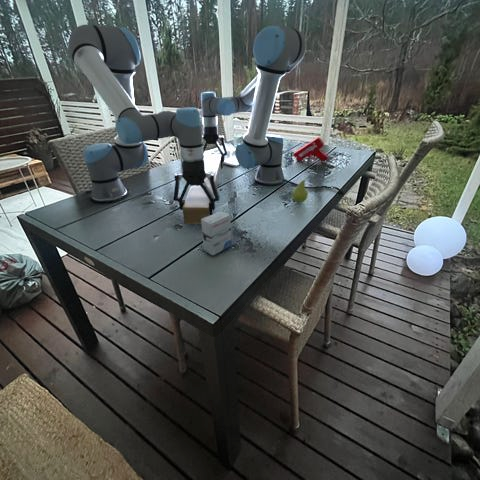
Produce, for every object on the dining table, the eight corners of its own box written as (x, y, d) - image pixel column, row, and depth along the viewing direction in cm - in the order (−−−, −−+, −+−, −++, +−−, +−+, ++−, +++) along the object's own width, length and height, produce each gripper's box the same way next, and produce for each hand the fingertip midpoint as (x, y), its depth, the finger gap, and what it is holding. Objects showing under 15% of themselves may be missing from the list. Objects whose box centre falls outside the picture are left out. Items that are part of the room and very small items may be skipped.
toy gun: (332, 156, 168) (319, 135, 164) (331, 158, 165) (319, 137, 161) (306, 172, 178) (294, 152, 174) (305, 174, 175) (293, 154, 171)
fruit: (288, 200, 123) (290, 174, 116) (302, 197, 125) (305, 172, 119) (296, 206, 118) (299, 179, 111) (310, 203, 120) (314, 177, 114)
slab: (206, 166, 158) (205, 154, 155) (221, 166, 158) (221, 154, 154) (184, 223, 101) (182, 207, 97) (209, 223, 101) (208, 207, 97)
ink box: (222, 240, 95) (220, 209, 89) (232, 245, 92) (231, 214, 86) (203, 250, 90) (200, 218, 84) (212, 256, 87) (210, 224, 81)
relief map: (235, 166, 165) (235, 158, 162) (194, 157, 182) (193, 149, 179) (260, 156, 183) (260, 148, 180) (220, 148, 201) (220, 141, 198)
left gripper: (157, 161, 89) (167, 221, 101) (224, 162, 89) (226, 222, 101) (163, 155, 95) (171, 212, 107) (225, 155, 95) (227, 212, 107)
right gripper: (188, 127, 139) (192, 169, 151) (230, 126, 139) (232, 169, 151) (190, 124, 146) (194, 165, 158) (231, 123, 145) (232, 165, 157)
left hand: (198, 217), depth 104 cm, fingers closed on slab, 9 cm apart
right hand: (213, 167), depth 154 cm, fingers closed on slab, 9 cm apart
